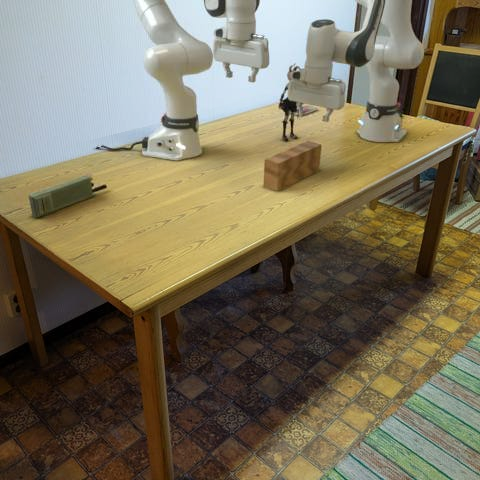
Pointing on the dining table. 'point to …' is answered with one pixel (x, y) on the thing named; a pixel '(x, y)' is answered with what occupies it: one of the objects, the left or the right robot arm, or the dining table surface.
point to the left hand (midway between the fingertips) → (240, 79)
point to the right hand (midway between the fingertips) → (313, 118)
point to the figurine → (288, 107)
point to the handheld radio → (62, 195)
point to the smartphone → (307, 110)
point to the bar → (291, 165)
